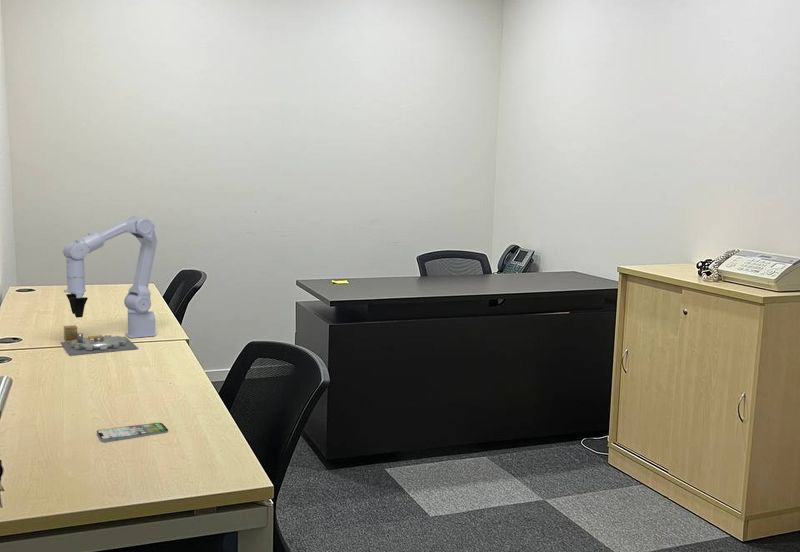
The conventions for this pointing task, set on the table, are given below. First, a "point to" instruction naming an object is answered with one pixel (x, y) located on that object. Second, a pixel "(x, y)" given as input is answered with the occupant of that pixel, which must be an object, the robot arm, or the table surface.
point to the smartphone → (131, 432)
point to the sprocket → (97, 342)
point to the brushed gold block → (70, 333)
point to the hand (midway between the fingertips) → (77, 315)
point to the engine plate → (73, 351)
